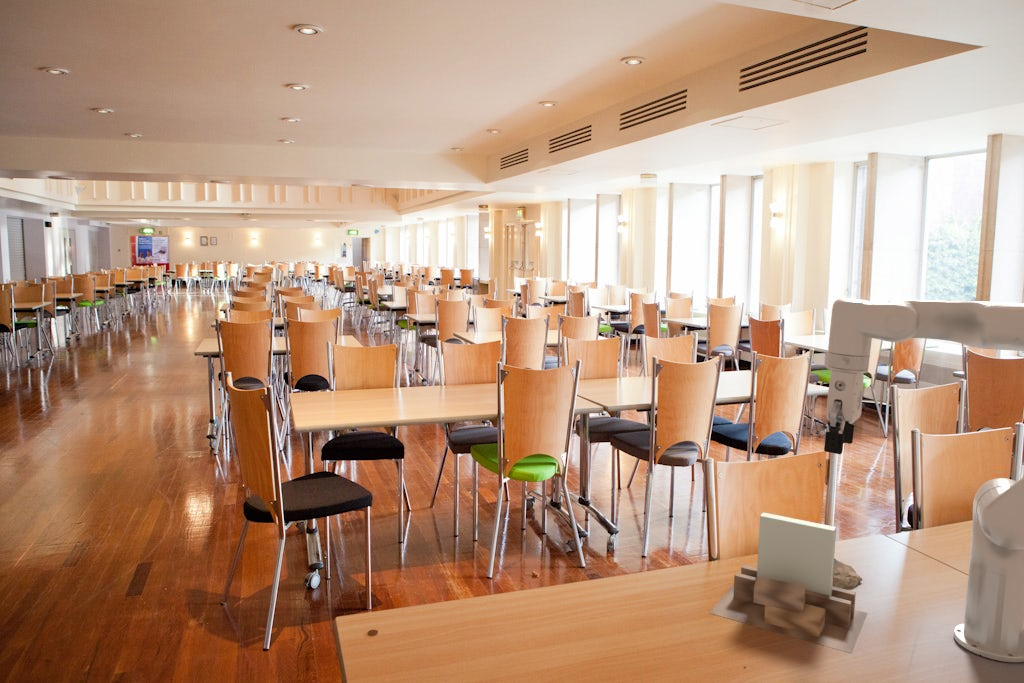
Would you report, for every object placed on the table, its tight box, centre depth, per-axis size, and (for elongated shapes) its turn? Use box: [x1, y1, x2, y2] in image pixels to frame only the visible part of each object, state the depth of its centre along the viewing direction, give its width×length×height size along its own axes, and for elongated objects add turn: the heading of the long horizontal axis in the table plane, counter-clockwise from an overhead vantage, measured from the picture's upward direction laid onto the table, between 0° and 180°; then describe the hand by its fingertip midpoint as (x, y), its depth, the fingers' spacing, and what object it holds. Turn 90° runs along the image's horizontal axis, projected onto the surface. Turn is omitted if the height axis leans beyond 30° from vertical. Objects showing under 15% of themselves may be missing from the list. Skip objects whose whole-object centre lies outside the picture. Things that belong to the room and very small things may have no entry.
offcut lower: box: [764, 604, 826, 637], centre depth 144 cm, size 10×5×4 cm, turn 56°
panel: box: [756, 512, 837, 596], centre depth 150 cm, size 14×2×18 cm, turn 56°
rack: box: [709, 564, 868, 654], centre depth 148 cm, size 26×18×6 cm
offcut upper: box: [753, 577, 806, 613], centre depth 145 cm, size 9×4×4 cm, turn 64°
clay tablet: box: [832, 558, 863, 589], centre depth 165 cm, size 14×5×20 cm
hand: (838, 447), depth 149 cm, fingers open, 9 cm apart
